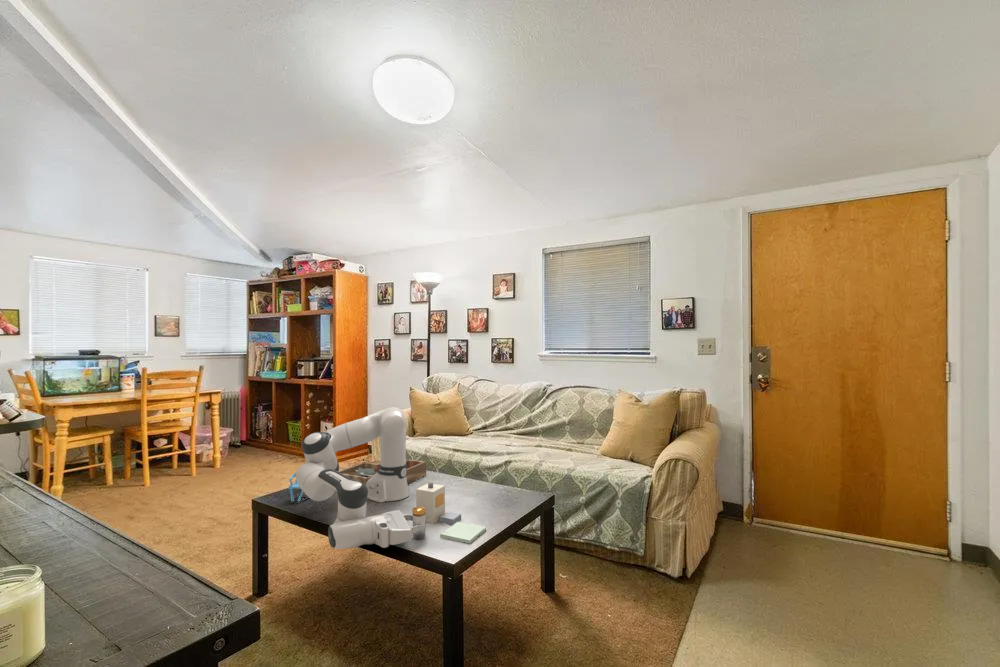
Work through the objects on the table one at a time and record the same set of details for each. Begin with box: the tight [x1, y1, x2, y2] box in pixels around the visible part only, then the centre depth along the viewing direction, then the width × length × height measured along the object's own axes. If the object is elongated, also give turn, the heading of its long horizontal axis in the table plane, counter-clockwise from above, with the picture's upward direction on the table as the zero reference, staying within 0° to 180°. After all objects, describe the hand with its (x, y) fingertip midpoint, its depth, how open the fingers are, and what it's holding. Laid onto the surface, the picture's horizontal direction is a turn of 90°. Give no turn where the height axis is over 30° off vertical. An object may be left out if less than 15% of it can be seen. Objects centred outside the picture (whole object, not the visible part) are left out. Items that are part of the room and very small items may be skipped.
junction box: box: [415, 482, 446, 524], centre depth 177 cm, size 8×8×14 cm
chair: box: [287, 473, 304, 502], centre depth 198 cm, size 8×8×12 cm
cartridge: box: [411, 506, 426, 541], centre depth 160 cm, size 5×5×10 cm
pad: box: [439, 521, 487, 544], centre depth 163 cm, size 12×12×1 cm
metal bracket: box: [355, 468, 377, 477], centre depth 231 cm, size 14×6×15 cm
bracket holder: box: [406, 459, 427, 485], centre depth 227 cm, size 11×18×7 cm, turn 154°
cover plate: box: [439, 511, 462, 526], centre depth 175 cm, size 6×6×2 cm
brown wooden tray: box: [338, 462, 381, 486], centre depth 229 cm, size 21×21×4 cm
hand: (419, 521), depth 160 cm, fingers open, 8 cm apart
